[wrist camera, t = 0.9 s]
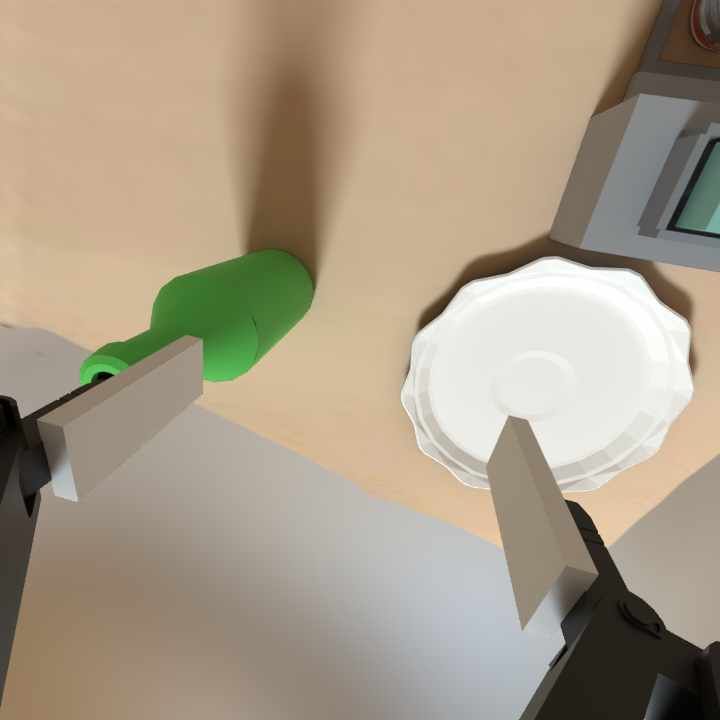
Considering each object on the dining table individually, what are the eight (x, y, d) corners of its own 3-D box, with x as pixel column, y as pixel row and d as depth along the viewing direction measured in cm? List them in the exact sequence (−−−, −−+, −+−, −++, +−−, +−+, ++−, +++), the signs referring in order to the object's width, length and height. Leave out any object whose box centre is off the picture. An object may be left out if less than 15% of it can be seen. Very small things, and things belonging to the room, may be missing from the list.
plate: (741, 286, 35) (762, 292, 32) (606, 506, 47) (615, 521, 45) (436, 232, 37) (437, 235, 35) (385, 455, 50) (383, 467, 48)
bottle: (304, 240, 39) (143, 298, 17) (323, 316, 43) (209, 450, 20) (232, 256, 41) (3, 325, 19) (256, 327, 45) (83, 459, 22)
